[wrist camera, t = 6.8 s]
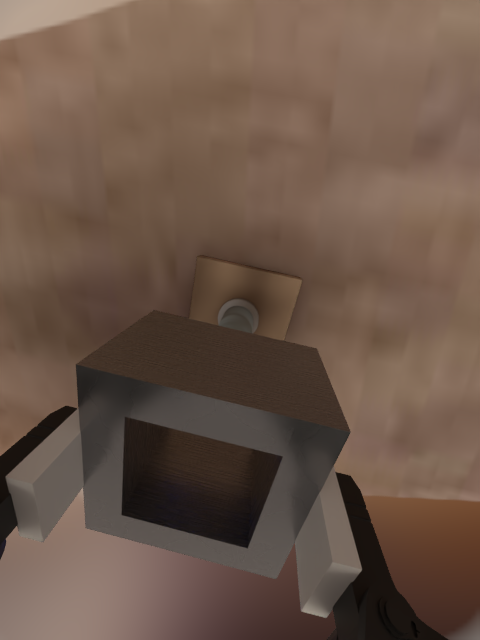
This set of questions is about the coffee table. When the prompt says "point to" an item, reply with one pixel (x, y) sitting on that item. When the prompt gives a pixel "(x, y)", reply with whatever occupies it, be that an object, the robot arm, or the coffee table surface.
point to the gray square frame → (206, 440)
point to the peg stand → (243, 297)
